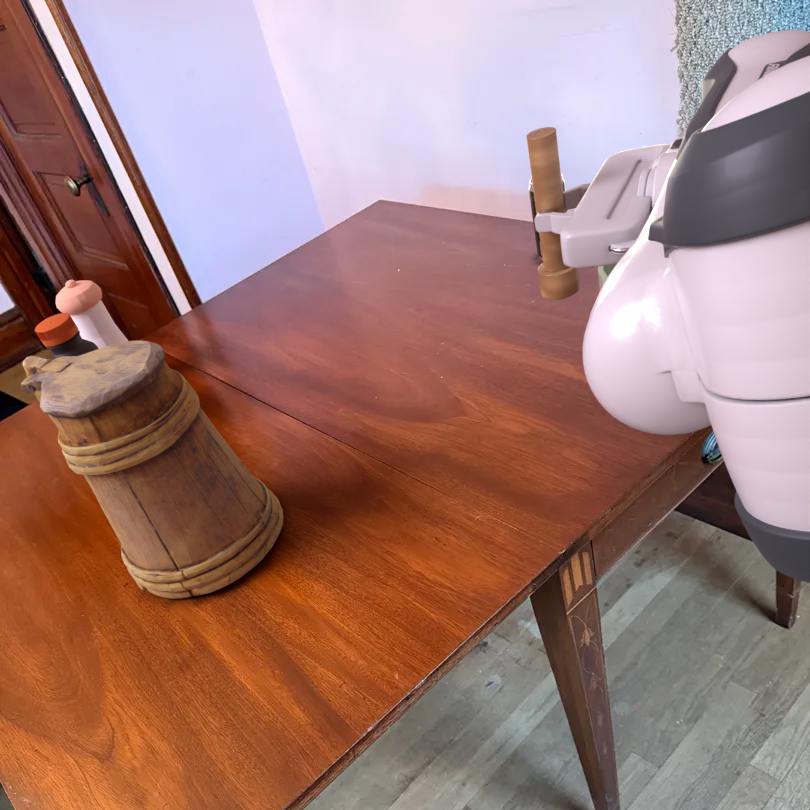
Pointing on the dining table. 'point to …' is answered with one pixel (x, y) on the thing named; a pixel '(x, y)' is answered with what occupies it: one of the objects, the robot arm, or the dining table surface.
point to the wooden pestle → (549, 195)
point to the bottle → (63, 337)
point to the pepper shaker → (89, 312)
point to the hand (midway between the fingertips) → (542, 212)
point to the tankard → (156, 468)
